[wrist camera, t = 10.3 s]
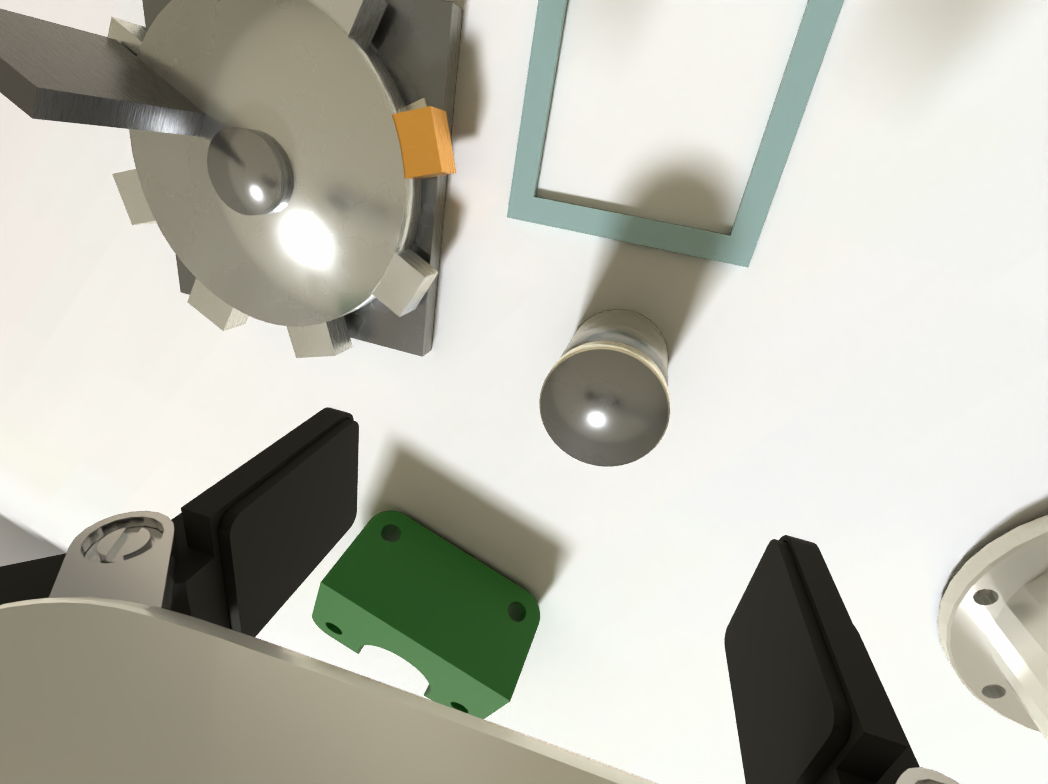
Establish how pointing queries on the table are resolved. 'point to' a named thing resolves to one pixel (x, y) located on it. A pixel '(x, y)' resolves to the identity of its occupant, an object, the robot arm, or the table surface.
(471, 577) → the green mounting bracket
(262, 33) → the sprocket
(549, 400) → the silver metal cylinder
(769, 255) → the table surface
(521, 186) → the seat bay
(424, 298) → the sprocket base
